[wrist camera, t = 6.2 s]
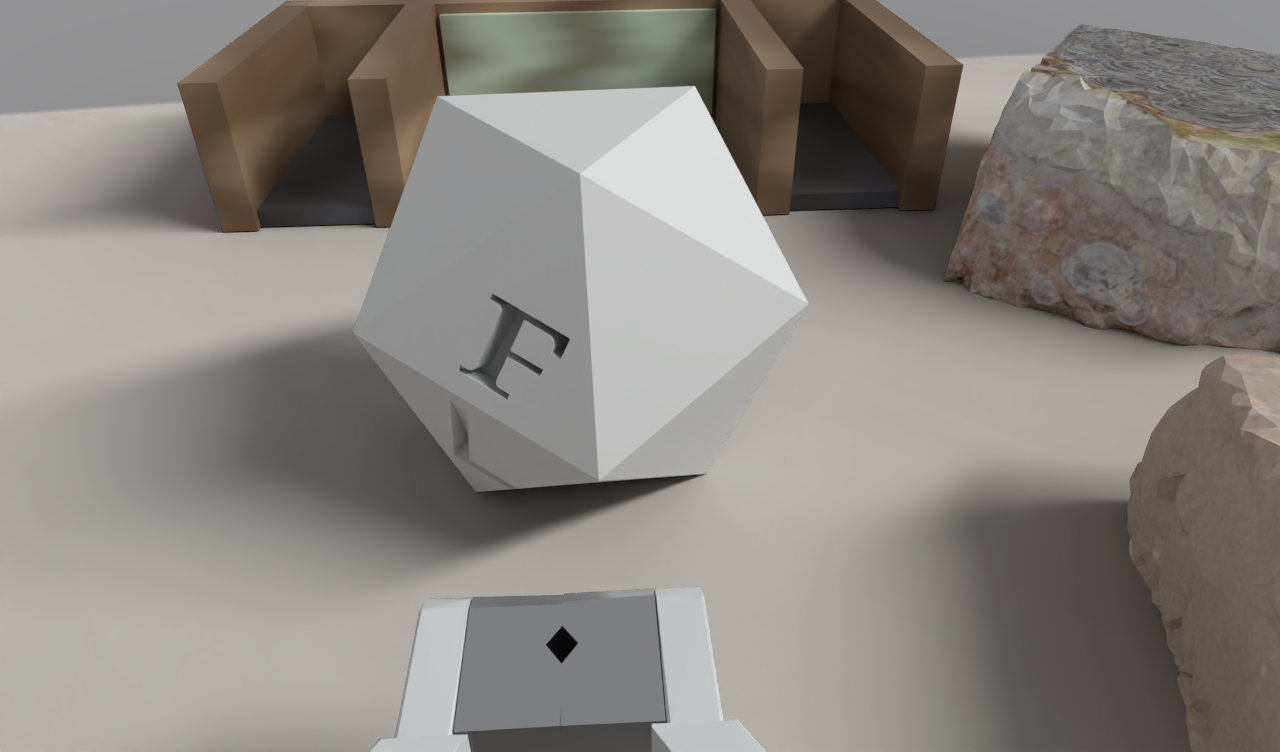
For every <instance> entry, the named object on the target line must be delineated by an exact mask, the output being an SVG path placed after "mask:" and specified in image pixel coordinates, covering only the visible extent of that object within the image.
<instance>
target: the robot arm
mask: <svg viewBox="0 0 1280 752" xmlns="http://www.w3.org/2000/svg"><path fill="white" fill-rule="evenodd" d="M369 752H766V751H765V750H764V749H763V748H762V747H761V746H760V744H759V743H758V742H757V741H756V740H755V739H754V738H753V737H752V735H751V734H750V733H749V732H748V731H747V730H746V729H745V728H744V726H743V725H742V724H741V723H740V722H739V721H738V720H723V715H722V709H721V702H720V696H719V689H718V683H717V677H716V670H715V664H714V657H713V651H712V644H711V638H710V631H709V625H708V618H707V612H706V605H705V599H704V594H703V592H702V590H701V589H700V587H686V588H665V589H655V590H654V591H653V588H651V589H635V590H618V591H601V592H584V593H568V594H564V595H550V596H503V597H473V598H442V599H425V601H424V603H423V605H422V607H421V609H420V611H419V615H418V620H417V625H416V630H415V636H414V641H413V646H412V651H411V656H410V661H409V666H408V671H407V677H406V682H405V687H404V692H403V697H402V702H401V707H400V713H399V718H398V723H397V728H396V733H395V738H384V739H379V740H378V742H377V743H376V744H375V745H374V746H373V747H372V748H371V750H370V751H369Z"/></svg>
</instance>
